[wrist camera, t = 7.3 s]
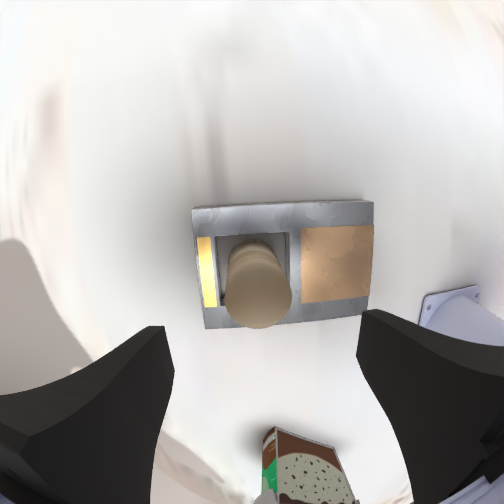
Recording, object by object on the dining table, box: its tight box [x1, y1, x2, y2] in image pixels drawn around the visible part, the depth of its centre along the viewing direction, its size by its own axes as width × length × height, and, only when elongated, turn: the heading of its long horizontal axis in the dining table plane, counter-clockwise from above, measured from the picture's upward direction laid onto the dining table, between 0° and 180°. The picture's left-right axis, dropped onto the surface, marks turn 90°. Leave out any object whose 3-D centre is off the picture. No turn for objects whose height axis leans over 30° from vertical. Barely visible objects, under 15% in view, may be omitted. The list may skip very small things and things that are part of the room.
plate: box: [191, 200, 374, 329], centre depth 18 cm, size 8×12×2 cm
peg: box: [225, 240, 292, 329], centre depth 16 cm, size 3×3×6 cm
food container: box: [254, 427, 360, 504], centre depth 20 cm, size 12×6×10 cm, turn 51°
